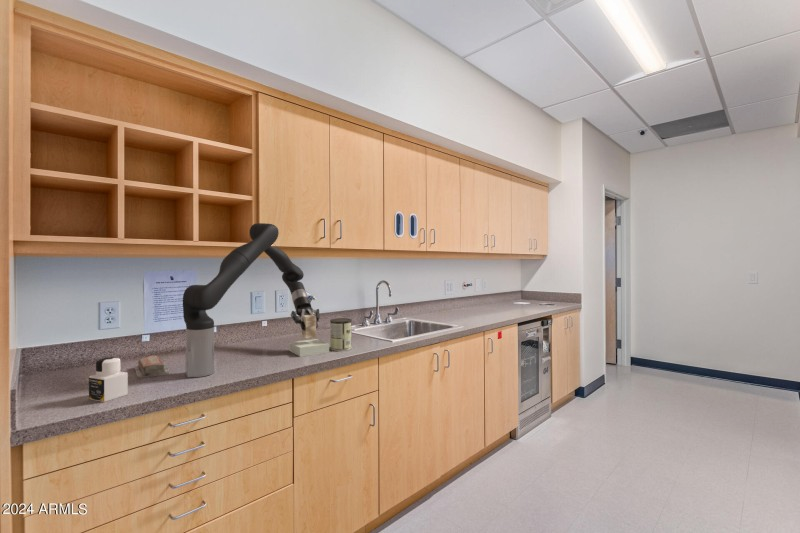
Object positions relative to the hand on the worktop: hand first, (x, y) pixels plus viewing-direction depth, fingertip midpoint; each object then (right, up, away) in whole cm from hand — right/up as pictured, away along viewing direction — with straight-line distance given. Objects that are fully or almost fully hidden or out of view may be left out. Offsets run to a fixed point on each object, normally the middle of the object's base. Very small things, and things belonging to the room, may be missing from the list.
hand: (310, 328), depth 178 cm
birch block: (-1, -4, +2) cm, 5 cm away
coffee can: (+13, -11, +8) cm, 19 cm away
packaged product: (-54, -12, -31) cm, 63 cm away
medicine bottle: (-49, -12, -59) cm, 78 cm away
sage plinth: (-1, -11, +2) cm, 11 cm away
